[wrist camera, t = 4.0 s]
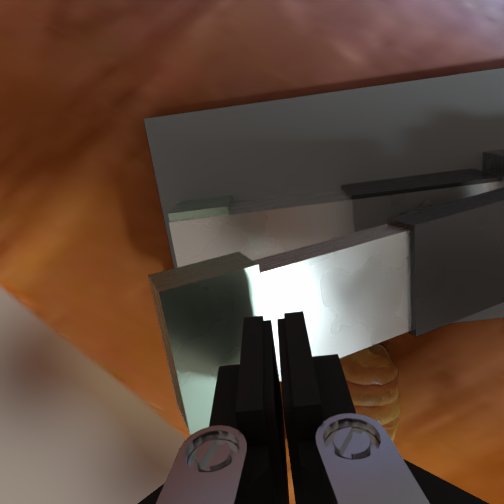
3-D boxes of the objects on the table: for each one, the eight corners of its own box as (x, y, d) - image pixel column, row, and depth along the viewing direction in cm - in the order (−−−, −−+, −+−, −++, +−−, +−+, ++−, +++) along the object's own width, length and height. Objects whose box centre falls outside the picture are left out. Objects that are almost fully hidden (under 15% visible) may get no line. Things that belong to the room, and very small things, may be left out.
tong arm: (515, 178, 19) (553, 182, 17) (509, 280, 20) (543, 291, 19) (148, 275, 13) (158, 292, 12) (177, 405, 15) (190, 434, 13)
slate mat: (587, 56, 22) (601, 53, 21) (561, 303, 26) (572, 310, 25) (148, 118, 23) (143, 118, 23) (193, 341, 28) (190, 350, 27)
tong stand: (582, 134, 22) (677, 143, 17) (569, 251, 24) (651, 289, 19) (175, 187, 24) (151, 210, 19) (196, 293, 26) (179, 339, 21)
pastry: (315, 325, 28) (323, 358, 24) (416, 344, 28) (439, 380, 24) (282, 440, 31) (286, 485, 27) (374, 456, 31) (389, 503, 27)
